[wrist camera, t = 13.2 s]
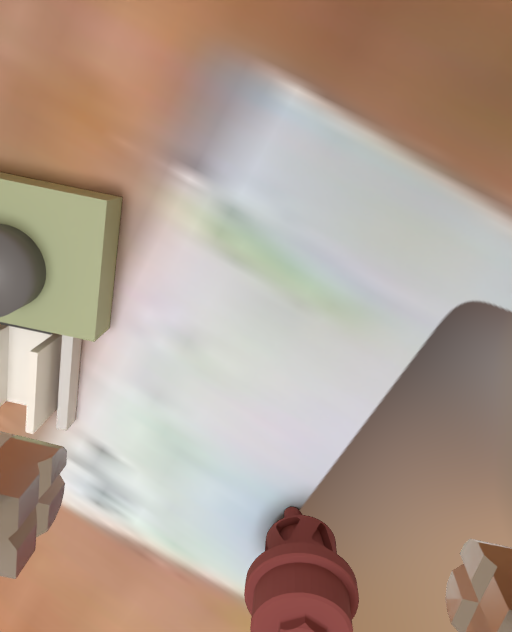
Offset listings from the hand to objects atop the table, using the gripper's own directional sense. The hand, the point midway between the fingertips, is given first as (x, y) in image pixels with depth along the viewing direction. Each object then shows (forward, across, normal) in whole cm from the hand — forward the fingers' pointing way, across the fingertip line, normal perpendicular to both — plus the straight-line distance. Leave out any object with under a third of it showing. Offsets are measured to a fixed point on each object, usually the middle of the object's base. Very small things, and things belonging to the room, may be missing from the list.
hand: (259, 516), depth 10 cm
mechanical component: (+33, -8, +30) cm, 45 cm away
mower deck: (+33, +22, +11) cm, 41 cm away
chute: (+33, +21, +17) cm, 43 cm away
